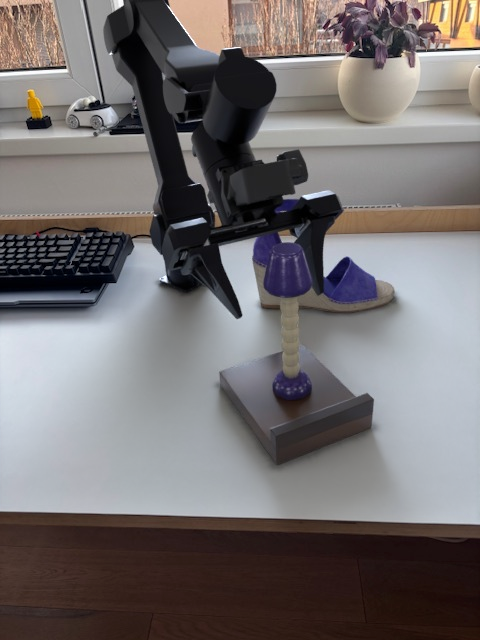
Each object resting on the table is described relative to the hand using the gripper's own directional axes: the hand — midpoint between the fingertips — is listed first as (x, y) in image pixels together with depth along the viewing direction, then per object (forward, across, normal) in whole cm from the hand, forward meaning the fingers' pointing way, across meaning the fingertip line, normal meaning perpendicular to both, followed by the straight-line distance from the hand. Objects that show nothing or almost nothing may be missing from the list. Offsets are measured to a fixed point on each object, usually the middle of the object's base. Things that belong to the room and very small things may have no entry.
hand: (281, 305), depth 55 cm
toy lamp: (+8, 0, +6) cm, 10 cm away
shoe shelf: (+10, 0, +7) cm, 12 cm away
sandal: (-3, +15, +20) cm, 25 cm away
